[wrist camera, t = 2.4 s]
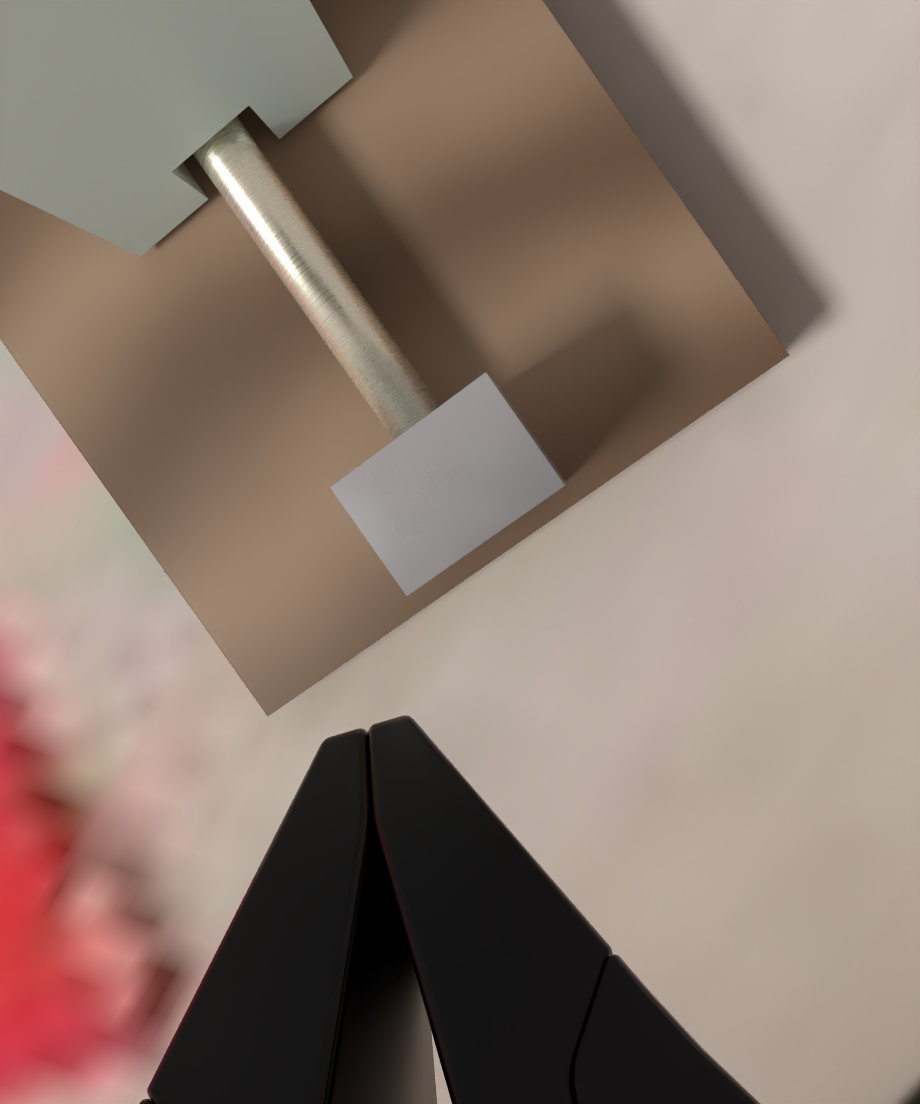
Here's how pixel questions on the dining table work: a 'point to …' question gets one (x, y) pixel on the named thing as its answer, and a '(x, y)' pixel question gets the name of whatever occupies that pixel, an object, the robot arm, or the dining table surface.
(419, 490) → the rod with end blocks
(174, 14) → the notched sage block
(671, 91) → the dining table surface
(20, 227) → the cord board
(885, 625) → the dining table surface
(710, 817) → the dining table surface
